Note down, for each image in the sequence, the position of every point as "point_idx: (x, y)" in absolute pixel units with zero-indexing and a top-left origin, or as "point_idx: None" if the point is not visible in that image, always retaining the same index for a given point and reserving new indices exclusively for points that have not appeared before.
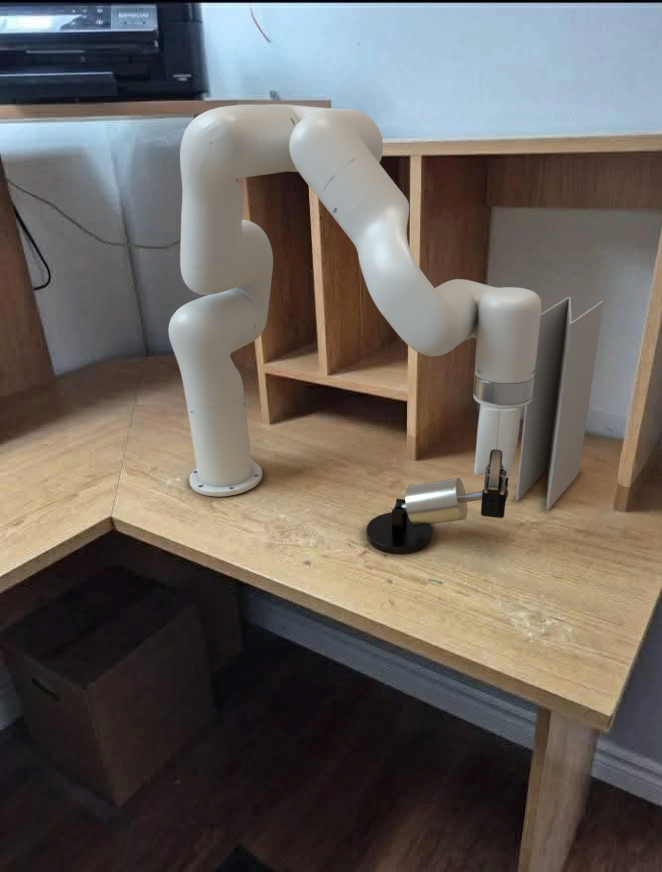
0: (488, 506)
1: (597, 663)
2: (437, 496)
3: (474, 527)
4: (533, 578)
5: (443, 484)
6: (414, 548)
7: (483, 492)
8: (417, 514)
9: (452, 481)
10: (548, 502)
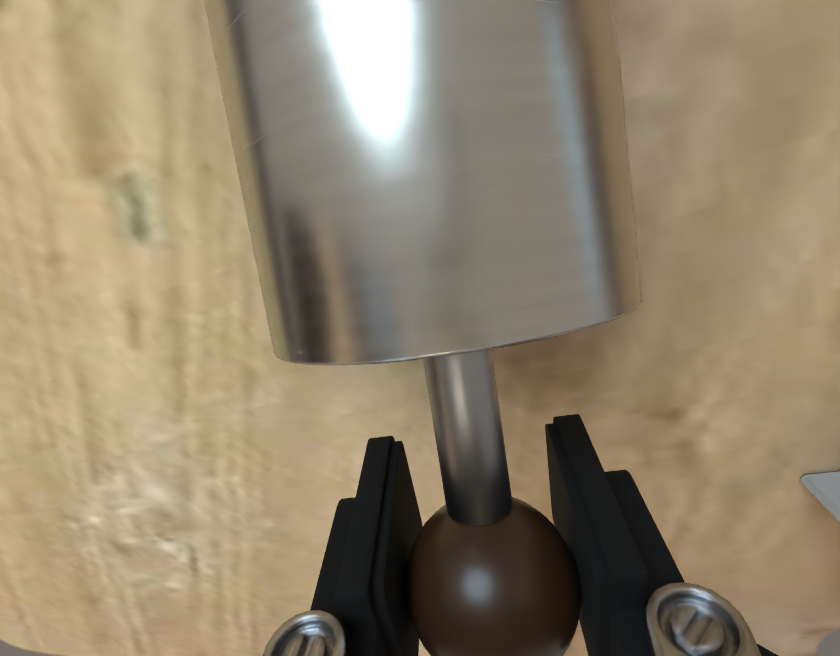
0: (334, 540)
1: (104, 630)
2: (248, 158)
3: None
4: (337, 495)
5: (377, 195)
6: None
7: (337, 592)
8: None
9: (426, 307)
10: (825, 502)
